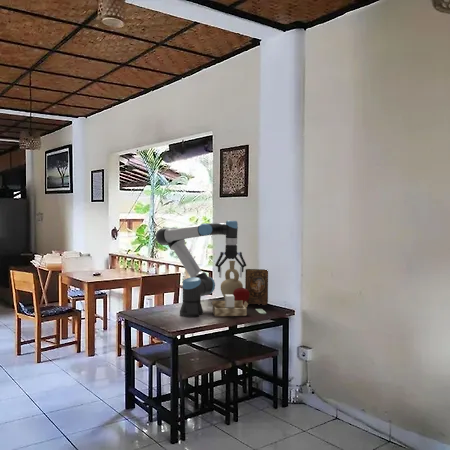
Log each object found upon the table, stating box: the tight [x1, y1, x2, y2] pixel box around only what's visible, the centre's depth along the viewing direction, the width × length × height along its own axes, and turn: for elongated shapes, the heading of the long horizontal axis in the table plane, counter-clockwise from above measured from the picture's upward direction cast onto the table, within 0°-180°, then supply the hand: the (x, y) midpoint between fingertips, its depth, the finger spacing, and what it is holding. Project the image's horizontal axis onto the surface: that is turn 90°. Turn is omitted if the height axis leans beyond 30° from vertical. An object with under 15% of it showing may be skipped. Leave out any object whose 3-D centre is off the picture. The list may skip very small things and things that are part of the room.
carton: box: [210, 300, 249, 317], centre depth 314 cm, size 23×13×8 cm, turn 99°
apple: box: [233, 287, 250, 305], centre depth 346 cm, size 12×12×13 cm
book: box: [244, 268, 269, 306], centre depth 352 cm, size 16×6×25 cm, turn 84°
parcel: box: [224, 294, 234, 309], centre depth 313 cm, size 5×7×12 cm
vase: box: [220, 260, 244, 301], centre depth 362 cm, size 17×17×30 cm
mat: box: [255, 308, 267, 315], centre depth 325 cm, size 12×12×1 cm
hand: (230, 277), depth 314 cm, fingers open, 13 cm apart
